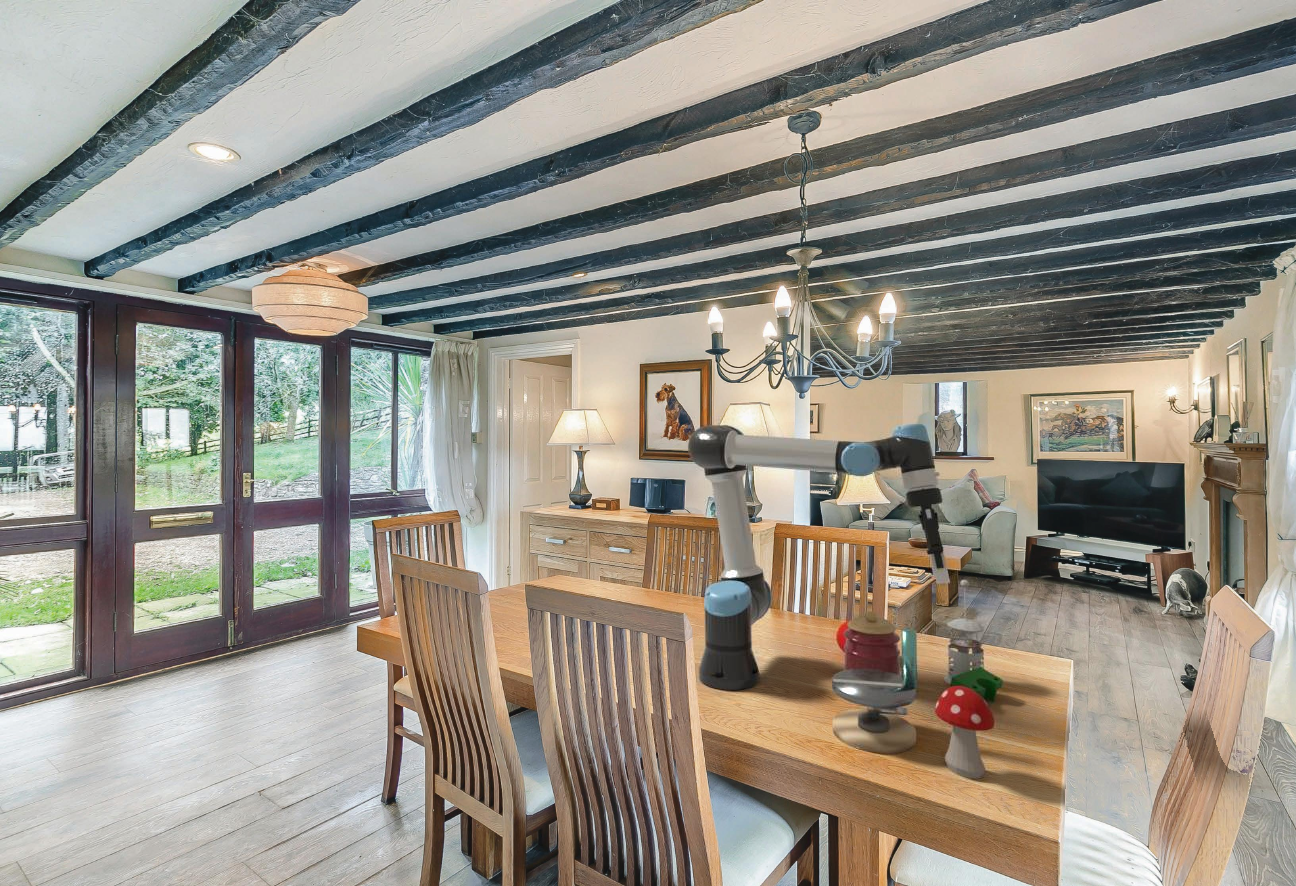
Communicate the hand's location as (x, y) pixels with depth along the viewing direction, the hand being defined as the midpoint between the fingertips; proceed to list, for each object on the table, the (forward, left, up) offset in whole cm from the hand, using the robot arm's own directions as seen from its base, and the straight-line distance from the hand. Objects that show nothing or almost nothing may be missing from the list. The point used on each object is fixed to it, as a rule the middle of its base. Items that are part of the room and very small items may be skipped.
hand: (941, 580), depth 142 cm
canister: (-13, -10, -27) cm, 32 cm away
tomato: (-29, -2, -27) cm, 40 cm away
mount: (+9, -26, -27) cm, 39 cm away
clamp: (+3, +6, -28) cm, 28 cm away
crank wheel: (+10, -26, -24) cm, 36 cm away
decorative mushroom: (+26, -19, -27) cm, 43 cm away
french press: (-7, +13, -27) cm, 31 cm away
